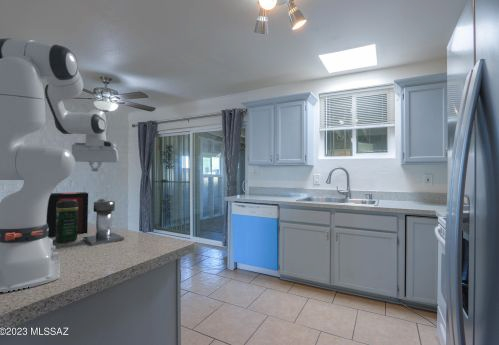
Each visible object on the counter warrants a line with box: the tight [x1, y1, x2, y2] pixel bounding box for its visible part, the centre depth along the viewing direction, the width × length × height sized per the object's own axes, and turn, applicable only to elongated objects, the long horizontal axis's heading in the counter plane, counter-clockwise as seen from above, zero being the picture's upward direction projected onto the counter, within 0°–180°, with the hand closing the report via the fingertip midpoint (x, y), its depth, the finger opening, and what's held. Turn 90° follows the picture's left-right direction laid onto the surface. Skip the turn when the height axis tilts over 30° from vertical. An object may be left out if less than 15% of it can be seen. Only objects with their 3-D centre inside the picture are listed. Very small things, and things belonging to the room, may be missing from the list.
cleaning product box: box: [47, 191, 89, 238], centre depth 127 cm, size 16×9×20 cm, turn 130°
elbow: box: [93, 198, 116, 213], centre depth 119 cm, size 15×8×5 cm, turn 36°
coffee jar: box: [54, 199, 78, 243], centre depth 115 cm, size 10×8×19 cm
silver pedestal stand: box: [82, 211, 125, 246], centre depth 117 cm, size 13×13×13 cm
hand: (95, 171), depth 126 cm, fingers closed
